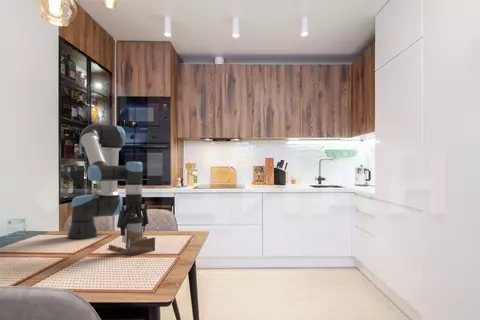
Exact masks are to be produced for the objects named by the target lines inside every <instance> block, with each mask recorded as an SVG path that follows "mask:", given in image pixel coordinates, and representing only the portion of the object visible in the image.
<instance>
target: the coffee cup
mask: <svg viewBox="0 0 480 320" xmlns="http://www.w3.org/2000/svg"><path fill="white" fill-rule="evenodd" d="M141 227H142V219H141V217H137V215H136V216H130V218H129V219H128V221H127V225H126V229H127V243H125V249H127V250H128V249H129V239H134V238H140V237H141Z"/></svg>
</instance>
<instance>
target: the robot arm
mask: <svg viewBox="0 0 480 320" xmlns="http://www.w3.org/2000/svg"><path fill="white" fill-rule="evenodd" d="M79 140H80V144H81V145H82V146H83V147H84V150H85V154H86V156H87V159H88V163H89V166H88V167H87V174H86V175H87V178H88V180H89V181H90V182H91V181H92V182H101V189H100V192H98V195H97V196H95V194H85V195H79V196H75V197H73V198H72V200H71V219H70V220H71V223H70V226H69V228H68V229H69V230H68V232H67V239H70V240H85V239H91V238H95V237H97V236H98V231H97V228H96V225H95V218H99V217H100V218H101V217H113V216H118V218H117V224H116V228H118V229H120V236H121V243H124V244H126V243H127V229H126V225H127V221H128V219H129V218H130V217H132V214H136V216H137V217H141V219H142V227H141V237H144V233H145V232H146V231H145V230H146V229H145V227H146V226H147V225H148V224H149V218H148V217H149V216H148V211H147V208H148V204H145V203H144V204H143V203H142V201H143V194H142V192H143V171H144V168H143V162H141V161H127V162H126V163H125V165H119V154H120V153H119V152H120V151H121V150H122V148H123V146H125V145H126V142H127V141H126V131H125V130H124V128H123V127H122V126H119V125H115V124H113V125H112V124H100V123H93V124H92V123H91V124H89V125H88V126H85V128H84V127H83V129H82V130H81V133H80V135H79ZM119 181H120V182H121V181H123V182H125V205H123V198H122V196H121V195H120V192H118V182H119Z"/></svg>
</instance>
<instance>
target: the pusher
mask: <svg viewBox="0 0 480 320" xmlns="http://www.w3.org/2000/svg"><path fill="white" fill-rule="evenodd" d="M142 239H148V236H146V235H145V236H143V237H140V238H134V239H129V249H128V250H130V242H132V241H137V240H142Z"/></svg>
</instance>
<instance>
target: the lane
mask: <svg viewBox="0 0 480 320" xmlns="http://www.w3.org/2000/svg"><path fill="white" fill-rule="evenodd" d="M108 249H110V250H112V249H113V251H115V250H116V252H120V253H122V254H126V255H127V256H136V255H141V254H145V253H149V252H154V251H156V237H149V238H148V237H147V239H142V240H137V241H132V242H130V250H127V249H126V248H123V247H120V246H117V245H114V244H108Z"/></svg>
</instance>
